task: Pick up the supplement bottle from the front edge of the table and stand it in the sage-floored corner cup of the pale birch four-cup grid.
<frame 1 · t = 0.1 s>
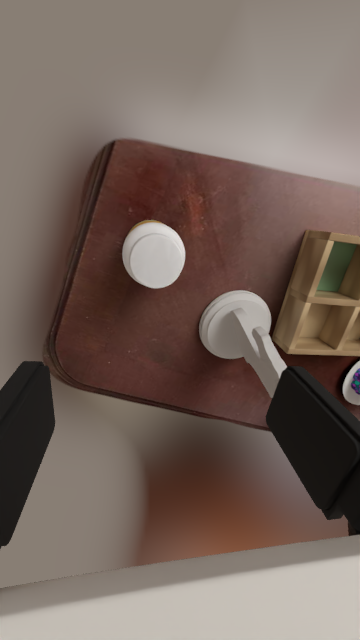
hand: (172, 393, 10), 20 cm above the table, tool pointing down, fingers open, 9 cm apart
grid: (335, 293, 32), on the table
supplement bottle: (150, 245, 26), on the table
chess piece: (233, 324, 32), on the table
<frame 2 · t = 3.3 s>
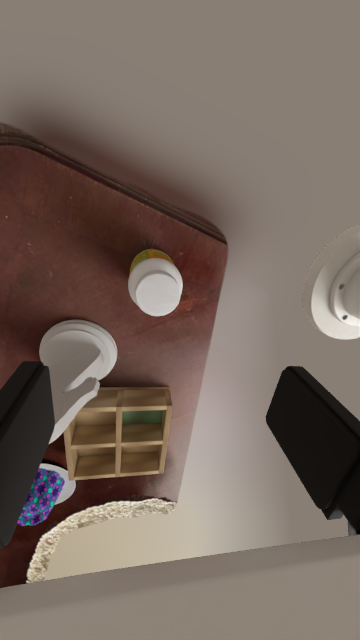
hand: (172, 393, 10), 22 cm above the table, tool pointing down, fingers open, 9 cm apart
grid: (120, 422, 39), on the table
pudding: (40, 481, 42), on the table
supplement bottle: (152, 270, 30), on the table
chess piece: (80, 351, 33), on the table
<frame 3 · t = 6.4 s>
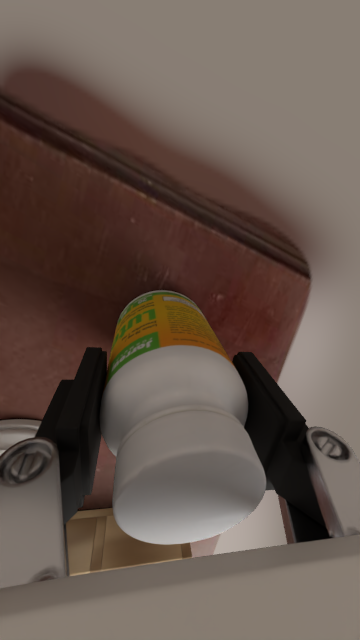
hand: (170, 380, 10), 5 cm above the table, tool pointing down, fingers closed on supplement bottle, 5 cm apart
grid: (103, 551, 24), on the table
supplement bottle: (161, 328, 15), on the table, touching gripper
chess piece: (27, 464, 18), on the table
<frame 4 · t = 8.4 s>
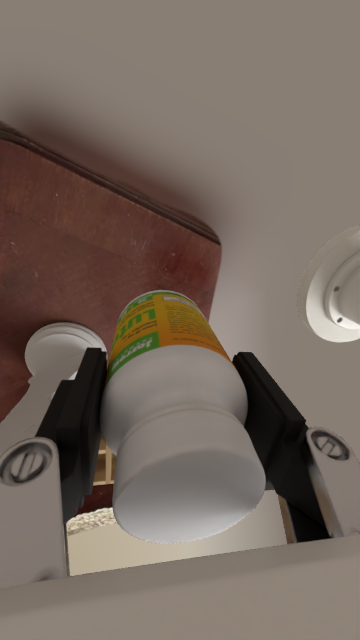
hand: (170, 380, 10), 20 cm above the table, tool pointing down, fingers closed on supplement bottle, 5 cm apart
grid: (111, 428, 38), on the table
supplement bottle: (161, 328, 15), point 15 cm above the table, touching gripper
chess piece: (69, 354, 31), on the table
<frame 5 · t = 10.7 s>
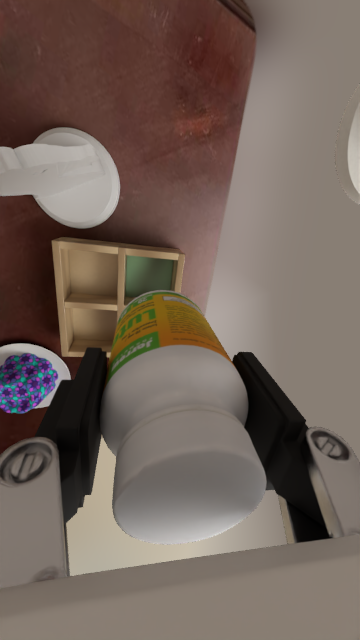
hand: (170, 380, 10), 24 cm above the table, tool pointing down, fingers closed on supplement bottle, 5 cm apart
grid: (122, 297, 33), on the table
pudding: (30, 374, 36), on the table
supplement bottle: (161, 328, 15), point 19 cm above the table, touching gripper
chess piece: (76, 182, 27), on the table
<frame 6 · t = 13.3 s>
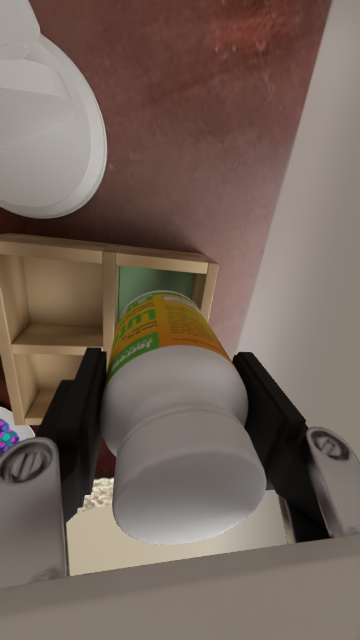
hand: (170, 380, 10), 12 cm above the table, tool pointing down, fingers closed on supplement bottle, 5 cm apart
grid: (113, 327, 22), on the table
supplement bottle: (161, 328, 15), point 7 cm above the table, touching gripper
chess piece: (29, 136, 15), on the table
when the fingers open (6 cm above the table, at t = 15.2 s): supplement bottle stays where it is, resting on grid.
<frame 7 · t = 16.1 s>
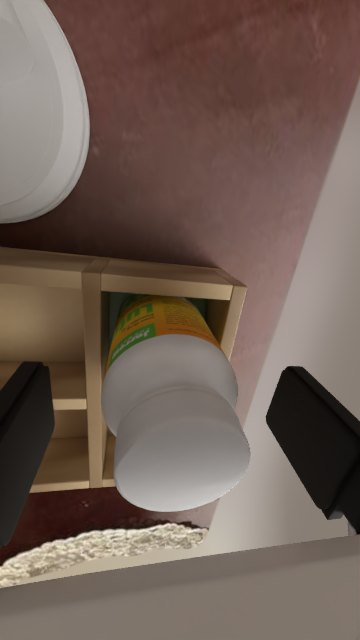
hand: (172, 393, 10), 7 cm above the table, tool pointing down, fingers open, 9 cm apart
grid: (103, 362, 17), on the table
supplement bottle: (158, 323, 16), point 1 cm above the table, touching grid
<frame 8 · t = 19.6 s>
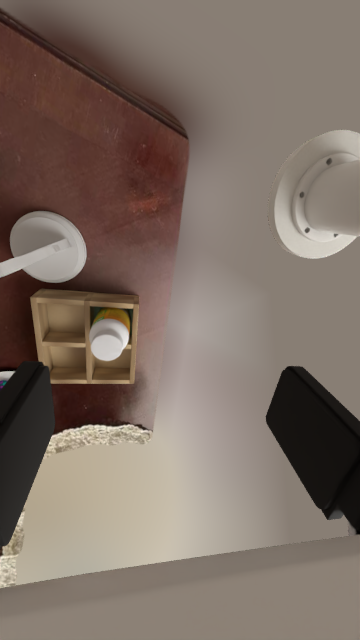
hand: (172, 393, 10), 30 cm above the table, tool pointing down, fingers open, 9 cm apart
grid: (92, 333, 40), on the table
supplement bottle: (114, 317, 39), point 1 cm above the table, touching grid
chess piece: (51, 248, 34), on the table
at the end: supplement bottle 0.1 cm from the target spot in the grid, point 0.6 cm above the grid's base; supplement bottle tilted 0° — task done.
